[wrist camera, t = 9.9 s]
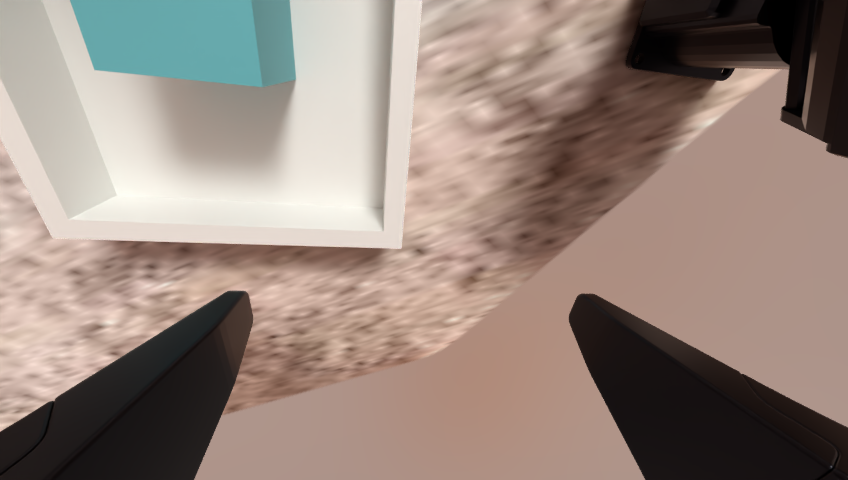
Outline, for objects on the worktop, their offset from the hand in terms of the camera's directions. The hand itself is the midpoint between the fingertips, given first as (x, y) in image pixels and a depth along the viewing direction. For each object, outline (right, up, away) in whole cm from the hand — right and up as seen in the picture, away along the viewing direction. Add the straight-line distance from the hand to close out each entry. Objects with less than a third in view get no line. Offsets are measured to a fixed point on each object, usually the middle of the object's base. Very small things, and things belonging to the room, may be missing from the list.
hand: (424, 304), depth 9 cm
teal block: (-8, +12, +5) cm, 15 cm away
